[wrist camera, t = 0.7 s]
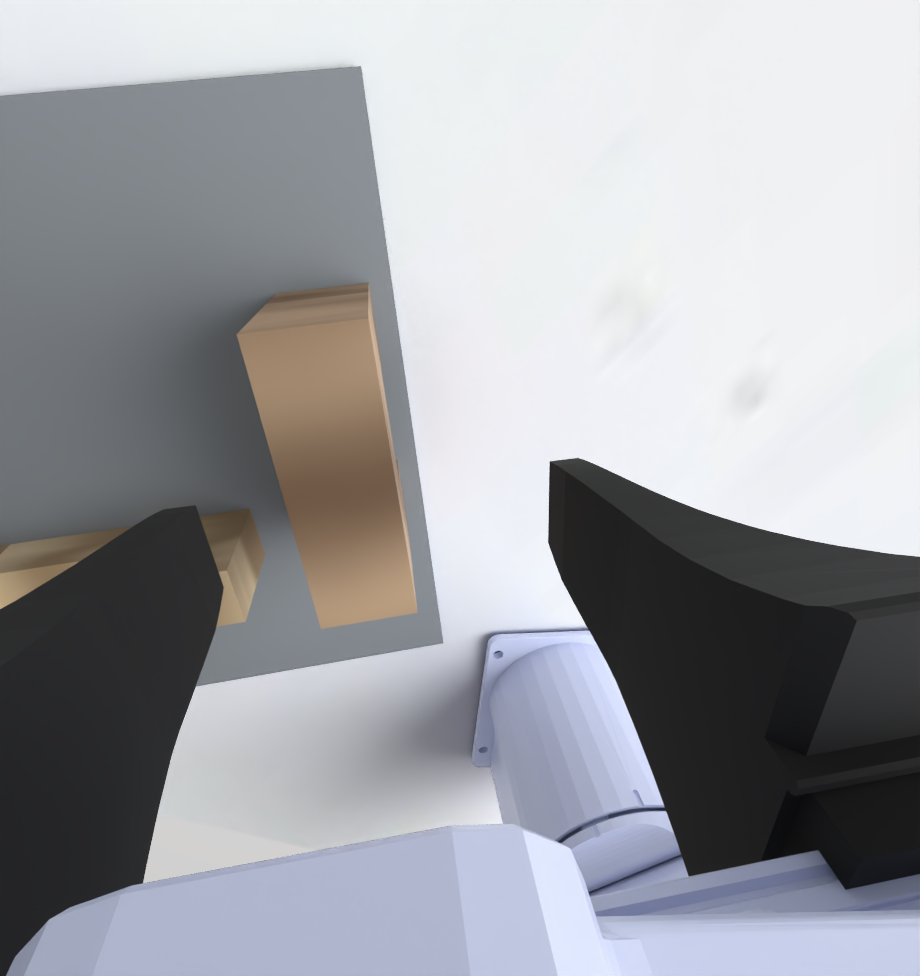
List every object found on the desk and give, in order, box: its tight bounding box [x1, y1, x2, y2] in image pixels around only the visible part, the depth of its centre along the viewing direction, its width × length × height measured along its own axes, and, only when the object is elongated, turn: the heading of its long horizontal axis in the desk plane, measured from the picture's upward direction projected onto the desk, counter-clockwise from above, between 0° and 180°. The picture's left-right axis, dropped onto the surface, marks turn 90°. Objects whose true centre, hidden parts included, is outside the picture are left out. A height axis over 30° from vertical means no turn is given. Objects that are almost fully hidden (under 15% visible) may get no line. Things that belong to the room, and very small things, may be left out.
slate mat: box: [0, 66, 443, 686], centre depth 20 cm, size 22×18×1 cm
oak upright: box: [0, 509, 265, 627], centre depth 19 cm, size 12×2×4 cm, turn 95°
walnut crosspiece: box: [237, 283, 418, 629], centre depth 17 cm, size 9×3×6 cm, turn 5°
